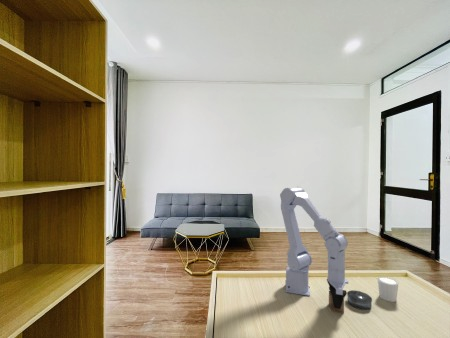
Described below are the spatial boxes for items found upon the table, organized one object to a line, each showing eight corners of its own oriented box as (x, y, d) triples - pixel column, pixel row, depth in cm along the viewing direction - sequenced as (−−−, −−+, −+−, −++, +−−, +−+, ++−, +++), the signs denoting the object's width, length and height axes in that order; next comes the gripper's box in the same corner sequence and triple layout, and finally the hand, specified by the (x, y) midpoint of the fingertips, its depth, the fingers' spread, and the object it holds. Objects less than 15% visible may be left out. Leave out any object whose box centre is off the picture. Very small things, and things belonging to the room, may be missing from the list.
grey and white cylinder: (402, 303, 87) (402, 285, 87) (382, 301, 88) (382, 283, 88) (392, 294, 94) (392, 277, 94) (374, 292, 95) (374, 275, 95)
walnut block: (330, 310, 83) (330, 297, 83) (328, 303, 87) (328, 290, 87) (343, 313, 81) (343, 299, 81) (341, 305, 86) (341, 292, 86)
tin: (349, 308, 85) (349, 300, 85) (345, 296, 92) (345, 288, 92) (375, 312, 82) (375, 304, 82) (368, 299, 90) (368, 292, 90)
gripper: (352, 278, 76) (352, 318, 76) (344, 261, 90) (344, 295, 90) (329, 275, 78) (329, 313, 78) (325, 259, 92) (325, 292, 92)
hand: (336, 303), depth 84 cm, fingers open, 5 cm apart
